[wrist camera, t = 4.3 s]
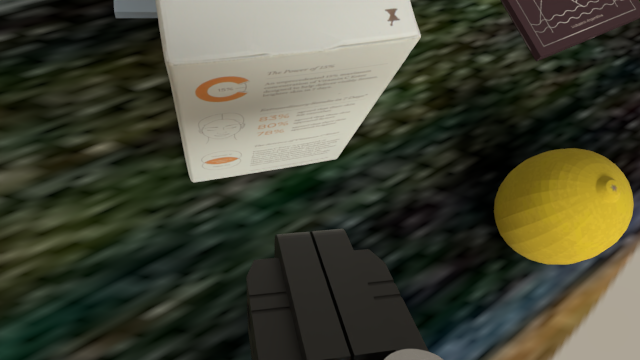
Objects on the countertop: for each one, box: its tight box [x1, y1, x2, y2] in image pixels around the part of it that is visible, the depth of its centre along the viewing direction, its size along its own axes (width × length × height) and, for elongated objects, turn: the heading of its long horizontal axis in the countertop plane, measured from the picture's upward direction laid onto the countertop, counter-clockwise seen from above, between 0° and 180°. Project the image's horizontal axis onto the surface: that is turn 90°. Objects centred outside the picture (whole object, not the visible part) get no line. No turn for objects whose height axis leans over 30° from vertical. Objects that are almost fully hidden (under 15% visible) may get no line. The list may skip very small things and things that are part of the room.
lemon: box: [494, 148, 633, 264], centre depth 27 cm, size 6×6×8 cm
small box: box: [155, 0, 421, 182], centre depth 23 cm, size 8×6×13 cm
